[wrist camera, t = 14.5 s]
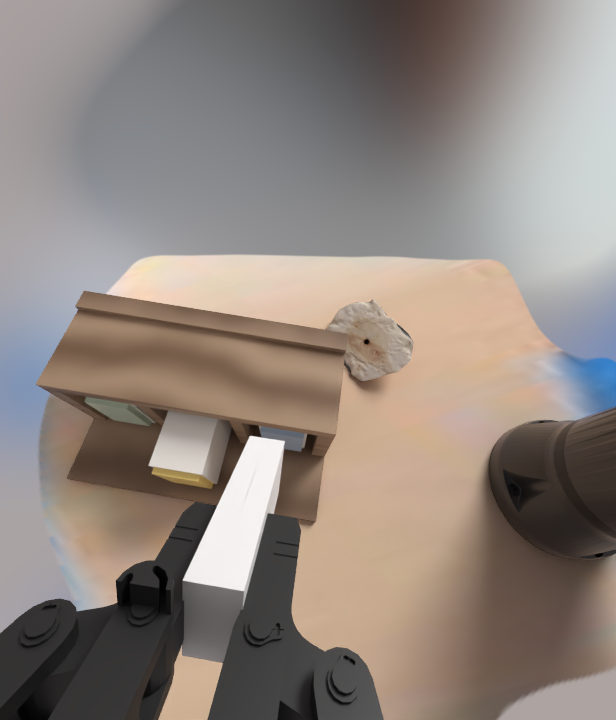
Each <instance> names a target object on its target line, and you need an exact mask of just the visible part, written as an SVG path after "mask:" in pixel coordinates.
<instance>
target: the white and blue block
mask: <svg viewBox="0 0 616 720" xmlns="http://www.w3.org/2000/svg"><path fill="white" fill-rule="evenodd" d="M259 429H260V433H261V437H262V438H268V439H274V440H281V441H285V444H284V449H287V450H293V451H299V452H301V449H302V448H304V447H305V442H306V438H307V434H305V433H299V432H293V431H287V430H281V429H276V428H270V427H264V426H259Z"/></svg>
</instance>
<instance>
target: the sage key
mask: <svg viewBox="0 0 616 720" xmlns="http://www.w3.org/2000/svg"><path fill="white" fill-rule="evenodd" d="M84 402H85V403H87V404H88V405H90V406H92V407H93V408H95V409H96V410H98V411H99V412H101V413H103V414H104V415H106V416H107V417H109V418H111V419H112V420H115V421H121V422H127V423H133V424H139V425H145V426H150V425H151V423H156V421H155V420H154V419H152V418H151V417H150V416H149V415H148V414H146V413H145V412H144V411H143V410H141V409H140V408H139V407H138V406H137V405H132V404H126V403H120V402H114V401H108V400H102V399H96V398H91V397H86V399H85V401H84Z"/></svg>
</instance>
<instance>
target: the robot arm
mask: <svg viewBox="0 0 616 720" xmlns="http://www.w3.org/2000/svg"><path fill="white" fill-rule="evenodd" d="M284 444H285V441H281V440H274V439H268V438H261V437H255V436H250V437H249V439H248V441H247V443H246V446H245V448H244V450H243V452H242V454H241V456H240V458H239V461H238V463H237V465H236V467H235V469H234V471H233V473H232V476H231V478H230V480H229V482H228V484H227V486H226V488H225V491H224V493H223V495H222V497H221V499H220V501H219V503H218V506H216V505H210V504H203V503H197V502H195V503H194V504H193V505H192V506H190V507H189V508H188V509H187V510H185V511H184V512H183V513H182V515H181V517H180V519H179V520H178V522H177V524H176V525H175V528H174V529H173V531H172V532H171V534H170V536H169V539H167V541H166V543H165V544H164V546H163V548H162V549H161V551H160V553H159V554H158V556H157V558H156V560H155V561H144V562H141V563H138V564H135V565H133V566H132V567H130V568H129V569H127V570H126V571H124V572H123V573H122V575H121V576H120V577H119V578H118V579H117V580H116V589H117V601H118V603H116V604H113V605H110V606H106V607H102V608H96V609H90V610H84V611H77V612H76V607H75V606H74V605H73V604H72V603H71V602H70V601H67V600H64V599H54V600H48V601H45V602H43V603H41V604H38V605H36V606H34V607H32V608H31V609H29V610H28V611H27V612H25V613H24V614H22V615H21V616H20V617H19V618H17V619H16V620H15V621H14V622H13V623H12V624H11V625H9V626H8V627H7V628H6V629H5V630H4V631H3V632H2V633H0V720H158V718H159V716H160V713H161V711H162V708H163V705H164V703H165V700H166V697H167V695H168V692H169V689H170V687H171V684H172V680H173V675H174V663H175V661H176V658H177V656H178V653H179V651H180V648H181V645H182V655H183V656H188V657H194V658H199V659H205V660H210V661H216V662H221V663H223V666H222V669H221V673H220V677H219V680H218V684H217V687H216V691H215V695H214V698H213V702H212V705H211V709H210V713H209V716H208V720H384V719H383V715H382V712H381V708H380V704H379V701H378V697H377V693H376V690H375V686H374V682H373V679H372V676H371V674H370V672H369V669H368V667H367V665H366V664H365V663H364V661H363V660H362V659H361V658H360V657H359V655H357V654H356V653H354V652H352V651H351V650H349V649H347V648H339V647H335V648H332V649H330V650H327V651H326V652H324V651H323V650H321V649H319V648H318V647H316V646H314V645H313V644H311V643H310V642H308V641H307V640H306V639H305V638H303V637H302V635H301V634H300V633H299V632H298V630H297V629H296V627H295V624H294V622H293V618H292V614H291V605H292V597H293V589H294V582H295V574H296V566H297V558H298V550H299V542H300V534H301V530H300V527H299V524H298V521H297V518H295V517H289V516H282V515H276V514H274V510H275V506H276V502H277V498H278V494H279V485H280V477H281V469H282V460H283V452H284ZM489 471H490V481H491V486H492V490H493V493H494V496H495V498H496V501H497V503H498V505H499V507H500V509H501V511H502V512H503V514H504V515H505V517H506V518H507V520H508V521H509V522H510V524H511V525H512V526H513V527H514V528H515V529H516V530H517V531H518V532H519V534H521V535H522V536H523V537H524V538H525V539H526V540H528V541H529V542H530V543H532V544H533V545H534V546H536V547H538V548H539V549H541V550H543V551H545V552H547V553H549V554H552V555H555V556H558V557H563V558H569V559H578V560H596V559H602V558H606V557H608V556H611V555H613V554H615V553H616V406H615V407H612V408H610V409H607V410H604V411H601V412H598V413H596V414H593V415H590V416H587V417H585V418H582V419H579V420H576V421H560V422H559V421H553V420H537V421H531V422H527V423H524V424H522V425H520V426H517V427H515V428H513V429H511V430H509V431H507V432H506V433H505V434H504V435H503V436H502V437H501V438H500V439H499V440H498V441H497V443H496V445H495V446H494V449H493V451H492V454H491V458H490V469H489Z"/></svg>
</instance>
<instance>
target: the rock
mask: <svg viewBox="0 0 616 720" xmlns="http://www.w3.org/2000/svg"><path fill="white" fill-rule="evenodd" d="M327 330H329V331H335V332H341V333H347V334H348V339H347V348H346V353H345V360H344V365H345V366H346V367H347V369H348V370H349V371H350V373H351V375H353V376H354V377H356V378H357V379H358V380H361V381H367V380H371V379H375V378H378V377H381V376H384V375H387V374H391V373H395V372H398V371H399V370H400V369H401V368H403V367H404V366H405V365H406V364H407V363H408V362H409V361H410V360H411V354H412V349H413V340H412V339H411V337H410V336H409V334H408V333H407V332H406V331H405V330H404V329H403V328H401V327H400V326H399V325H398V324H397V323H396V322H395V321H394V320H393V319H392V318H390V317H388V316H387V315H386V313H385V312H384V310H383V309H382V307H380V305H379V304H378V303H377V302H376V301H375V300H372V301H370V302H367V303H361V302H356V303H353V304H350V305H347V306H345V307H344V308H342V309H340V310H339V311H338V313H337V314H336V316H335V317H334V319H333V321H332V322H331V323H330V324H329V326H328V327H327Z"/></svg>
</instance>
